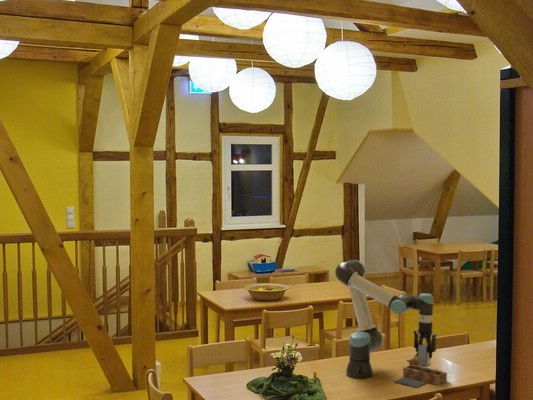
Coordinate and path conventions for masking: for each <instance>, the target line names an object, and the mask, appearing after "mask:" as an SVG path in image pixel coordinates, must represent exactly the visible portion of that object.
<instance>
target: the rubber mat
mask: <svg viewBox="0 0 533 400" xmlns="http://www.w3.org/2000/svg"><path fill="white" fill-rule="evenodd" d="M393 382H394V383H396V384H400V385H402V386H403V385H404V386H407V387H410V388H413V389H414V388H415V389H417V388H419V387H422V386H425V385H427V382H424V381H420V380H416V379H412V378H408V377H404V376H403V377H401V378H399V379H397V380H394V381H393Z"/></svg>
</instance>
